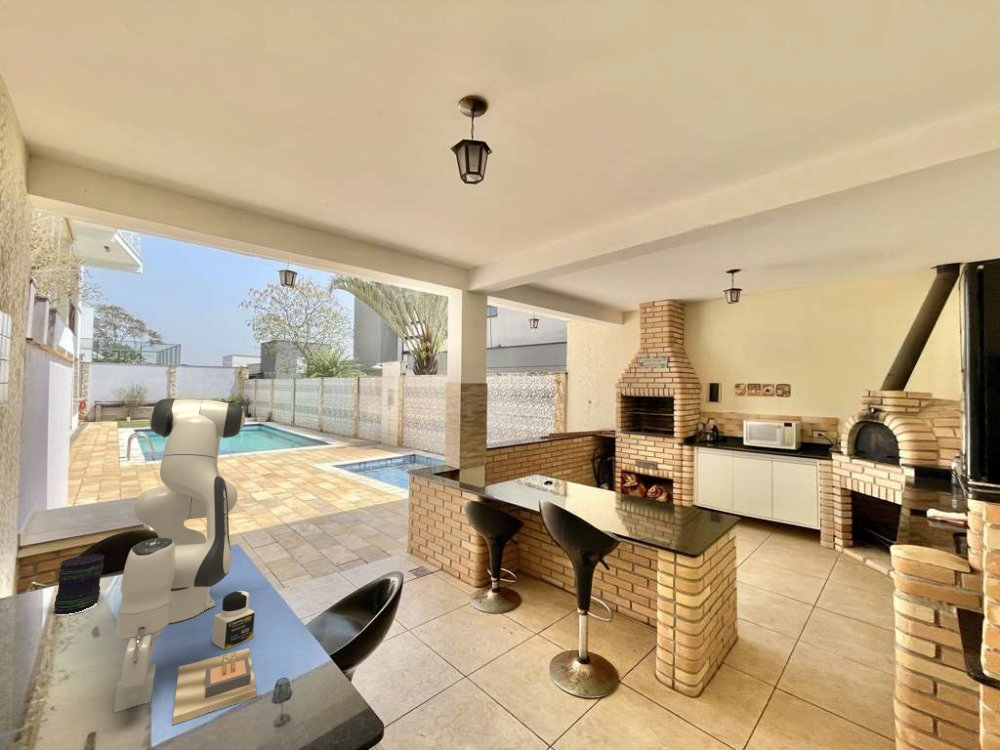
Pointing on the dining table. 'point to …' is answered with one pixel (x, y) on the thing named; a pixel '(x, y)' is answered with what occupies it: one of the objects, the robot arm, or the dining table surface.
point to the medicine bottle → (233, 621)
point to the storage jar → (78, 583)
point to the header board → (196, 689)
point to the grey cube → (144, 692)
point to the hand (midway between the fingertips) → (136, 688)
